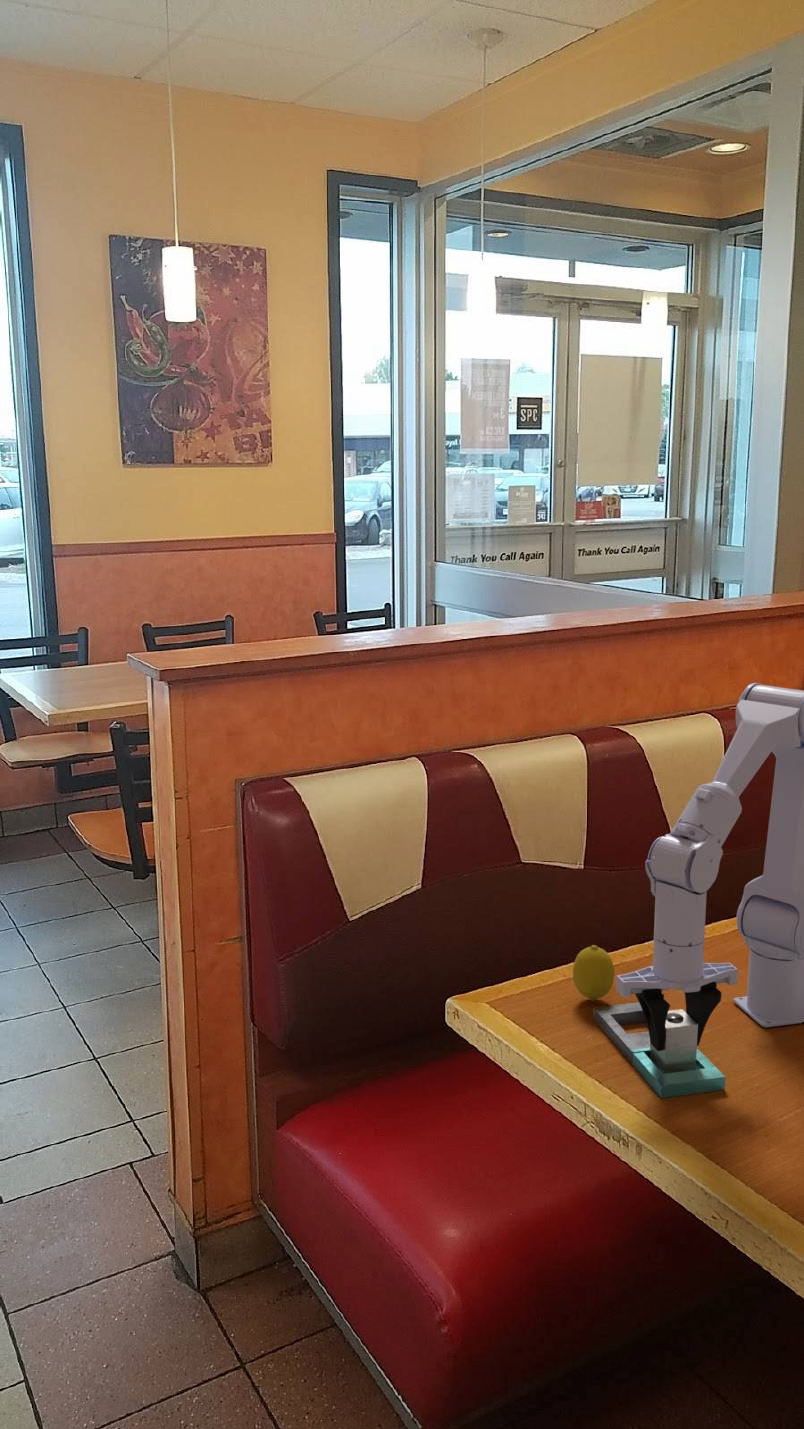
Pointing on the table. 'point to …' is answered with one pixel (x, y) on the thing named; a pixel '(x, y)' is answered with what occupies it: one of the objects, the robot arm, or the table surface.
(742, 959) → the table surface
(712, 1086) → the teal silver rectangular frame
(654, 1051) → the domed white cube
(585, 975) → the lemon
